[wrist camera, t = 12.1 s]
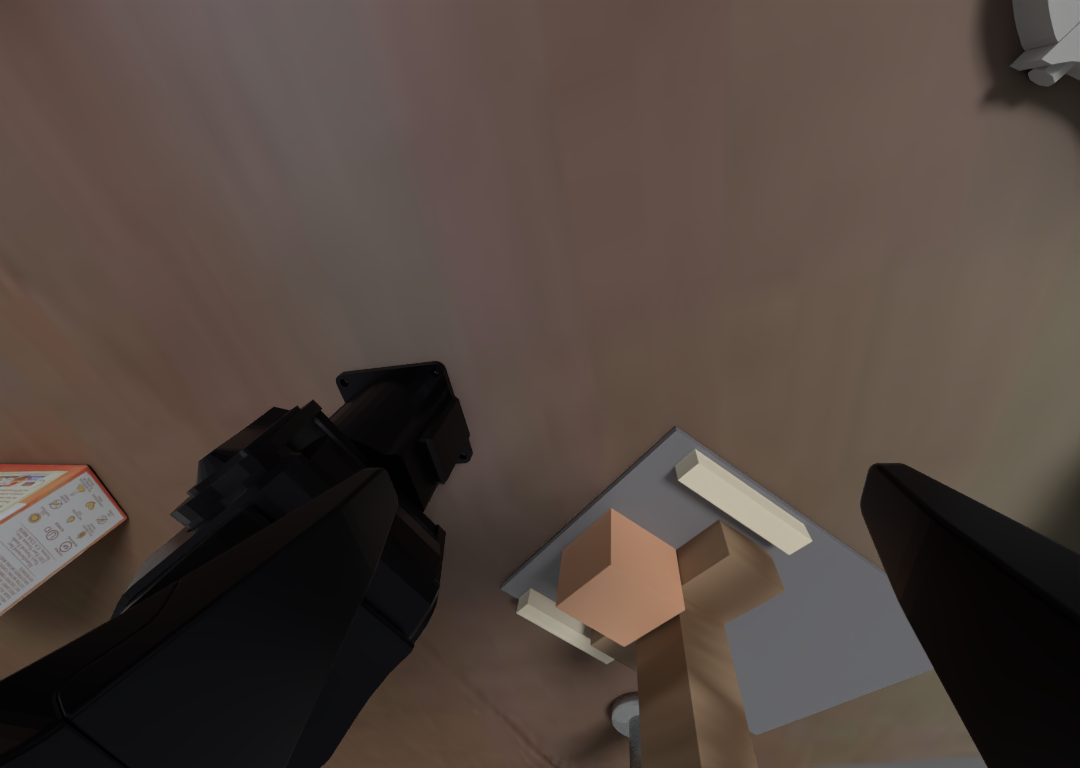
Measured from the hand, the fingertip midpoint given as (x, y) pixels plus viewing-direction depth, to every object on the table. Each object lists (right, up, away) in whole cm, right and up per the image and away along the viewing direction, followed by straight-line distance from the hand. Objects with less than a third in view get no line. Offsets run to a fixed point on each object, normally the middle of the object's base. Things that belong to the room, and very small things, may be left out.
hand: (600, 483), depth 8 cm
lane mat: (+11, -13, +20) cm, 27 cm away
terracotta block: (+4, -9, +19) cm, 21 cm away
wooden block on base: (+7, -11, +19) cm, 24 cm away
